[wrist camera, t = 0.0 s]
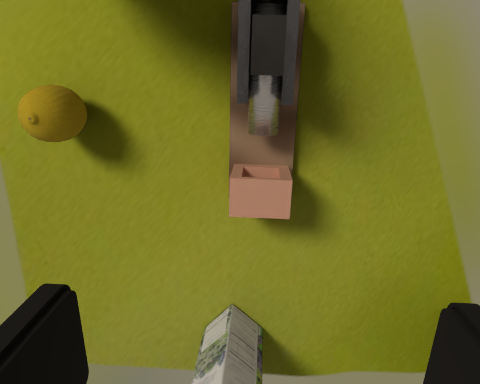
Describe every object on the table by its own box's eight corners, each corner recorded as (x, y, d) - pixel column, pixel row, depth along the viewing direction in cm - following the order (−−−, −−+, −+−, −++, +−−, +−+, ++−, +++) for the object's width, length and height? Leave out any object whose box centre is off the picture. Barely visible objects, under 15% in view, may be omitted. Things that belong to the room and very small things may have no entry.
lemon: (90, 79, 38) (47, 81, 30) (105, 130, 39) (68, 144, 32) (43, 88, 38) (-11, 92, 31) (60, 138, 40) (13, 154, 32)
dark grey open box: (242, 1, 33) (238, -11, 28) (294, 2, 33) (301, -10, 28) (239, 98, 36) (236, 103, 31) (288, 100, 36) (292, 105, 31)
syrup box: (234, 350, 49) (224, 461, 35) (202, 326, 48) (179, 429, 34) (263, 327, 47) (264, 433, 33) (231, 301, 46) (218, 399, 32)
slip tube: (252, 8, 32) (249, -14, 24) (284, 9, 32) (293, -13, 24) (248, 130, 36) (244, 148, 27) (277, 131, 36) (282, 150, 27)
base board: (232, 3, 34) (231, 1, 33) (303, 4, 34) (305, 2, 33) (229, 194, 41) (228, 197, 40) (289, 197, 41) (290, 199, 40)
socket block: (233, 163, 39) (229, 178, 34) (288, 165, 38) (292, 180, 33) (233, 197, 40) (229, 216, 35) (285, 199, 40) (289, 219, 35)
